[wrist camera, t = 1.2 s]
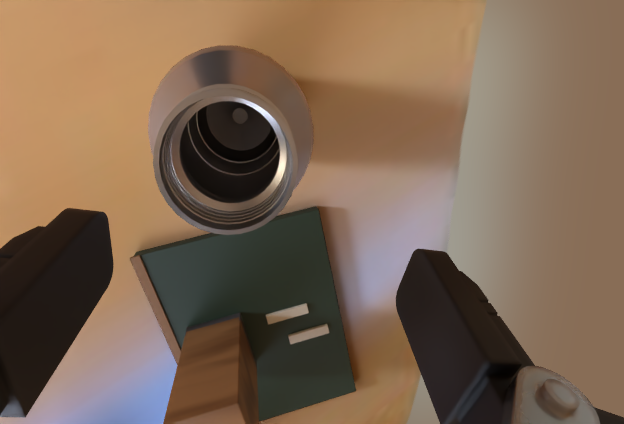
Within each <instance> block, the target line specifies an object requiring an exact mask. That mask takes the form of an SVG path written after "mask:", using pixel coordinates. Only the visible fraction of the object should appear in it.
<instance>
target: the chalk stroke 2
mask: <svg viewBox="0 0 624 424" xmlns="http://www.w3.org/2000/svg"><path fill="white" fill-rule="evenodd" d="M328 333H329V329H328V325H327V324H324V325H320V326H317V327H313V328H310V329H306V330H303V331H300V332H296V333H293V334H289V335H288V337H289V341H290V344H294V343H297V342H301V341H304V340H307V339H311V338H314V337H318V336H321V335H324V334H328Z"/></svg>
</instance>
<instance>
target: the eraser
mask: <svg viewBox="0 0 624 424" xmlns="http://www.w3.org/2000/svg"><path fill="white" fill-rule="evenodd" d="M163 424H259V409H258V385H257V361H256V358H255V355H254V352H253V349H252V346H251V343H250V340H249V337H248V334H247V331H246V328H245V325H244V322H243V319H242V316H241V313H237V314H233V315H229V316H226V317H222V318H219V319H215V320H212V321H208V322H204V323H201V324H197V325H194V326H190V327H187V329H186V333H185V337H184V342H183V346H182V350H181V354H180V358H179V362H178V366H177V370H176V374H175V378H174V382H173V386H172V390H171V394H170V398H169V403H168V407H167V411H166V415H165V419H164V423H163Z"/></svg>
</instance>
